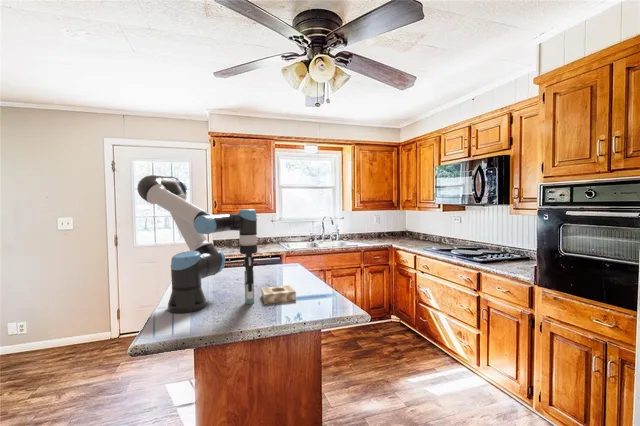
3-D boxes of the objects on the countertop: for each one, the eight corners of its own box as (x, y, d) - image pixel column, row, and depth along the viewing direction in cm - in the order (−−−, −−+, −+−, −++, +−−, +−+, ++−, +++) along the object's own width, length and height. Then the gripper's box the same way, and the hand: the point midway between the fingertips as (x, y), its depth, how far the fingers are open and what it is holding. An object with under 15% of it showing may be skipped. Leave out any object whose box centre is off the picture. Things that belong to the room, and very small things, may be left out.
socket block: (264, 303, 138) (264, 294, 138) (261, 296, 150) (261, 287, 150) (295, 300, 142) (295, 291, 142) (290, 293, 154) (290, 285, 154)
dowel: (245, 304, 138) (244, 272, 137) (244, 301, 142) (244, 270, 141) (254, 303, 139) (254, 271, 139) (254, 300, 143) (253, 270, 142)
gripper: (259, 246, 132) (260, 301, 133) (255, 241, 149) (256, 290, 149) (240, 247, 130) (242, 303, 131) (238, 242, 147) (240, 292, 147)
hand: (249, 296), depth 140 cm, fingers closed on dowel, 4 cm apart
